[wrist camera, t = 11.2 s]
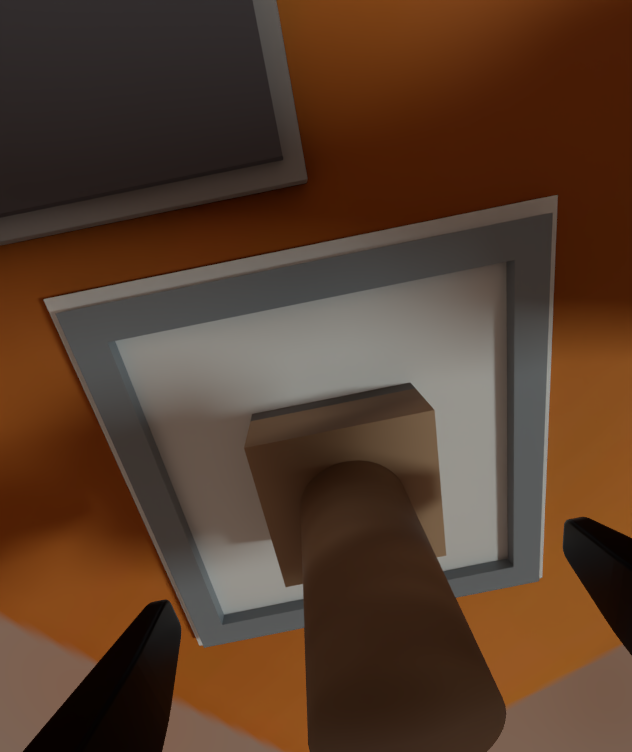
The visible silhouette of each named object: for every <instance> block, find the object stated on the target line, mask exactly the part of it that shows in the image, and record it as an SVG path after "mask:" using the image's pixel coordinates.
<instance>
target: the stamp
mask: <svg viewBox="0 0 632 752" xmlns="http://www.w3.org/2000/svg"><path fill="white" fill-rule="evenodd" d="M244 450H245V453H246V457H247V460H248V463H249V467H250V470H251V473H252V477H253V480H254V483H255V487H256V490H257V493H258V497H259V500H260V503H261V507H262V510H263V513H264V517H265V520H266V523H267V527H268V530H269V533H270V537H271V540H272V543H273V547H274V550H275V553H276V557H277V560H278V564H279V567H280V570H281V574H282V577H283V580H284V584H285V587H290V586H295V585H300V584H303V602H304V632H305V662H306V691H307V721H308V745H309V750H310V752H487V751H488V750H489V749H490V748H491V747H492V746H493V744H494V743H495V742H496V740H497V739H498V737H499V736H500V734H501V732H502V730H503V727H504V724H505V718H506V709H505V704H504V701H503V698H502V696H501V694H500V692H499V690H498V687H497V685H496V683H495V681H494V679H493V677H492V675H491V672H490V670H489V668H488V666H487V664H486V662H485V660H484V657H483V655H482V653H481V651H480V649H479V647H478V645H477V643H476V640H475V638H474V636H473V634H472V632H471V630H470V628H469V625H468V623H467V621H466V619H465V617H464V615H463V613H462V610H461V608H460V606H459V604H458V602H457V600H456V598H455V595H454V593H453V591H452V589H451V587H450V585H449V583H448V581H447V578H446V576H445V574H444V572H443V570H442V568H441V566H440V563H439V561H438V559H437V557H442V556H446V545H445V533H444V520H443V508H442V496H441V483H440V471H439V459H438V446H437V434H436V421H435V410H434V409H433V408H432V406H431V405H430V404H429V403H428V402H427V401H426V400H425V399H424V397H423V396H422V395H421V394H420V393H419V392H418V391H417V389H416V388H415V387H414V386H413V385H412V384H411V383H405V384H400V385H395V386H390V387H385V388H380V389H375V390H370V391H365V392H360V393H355V394H350V395H345V396H340V397H335V398H330V399H325V400H320V401H315V402H310V403H305V404H300V405H295V406H290V407H285V408H280V409H275V410H270V411H265V412H260V413H255V414H252V416H251V420H250V425H249V429H248V433H247V437H246V442H245V446H244Z"/></svg>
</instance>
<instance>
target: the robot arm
mask: <svg viewBox="0 0 632 752" xmlns="http://www.w3.org/2000/svg"><path fill="white" fill-rule="evenodd" d="M563 551H564V554H565V557H566V559H567V560H568V562H569V563H570V565H571V567H572V568H573V570H574V571H575V573H576V574H577V576H578V577H579V579H580V581H581V582H582V584H583V585H584V587H585V588H586V590H587V591H588V593H589V594H590V596H591V598H592V599H593V601H594V602H595V604H596V605H597V607H598V608H599V610H600V612H601V613H602V615H603V616H604V618H605V619H606V621H607V622H608V624H609V625H610V627H611V628H612V630H613V631H614V633H615V634H616V635H617V637H618V638H619V639H620V641H621V642H622V643H623V645H624V646H625V647H626V649H627V650H628V651H629V652H630V654H631V655H632V538H630V537H628V536H626V535H624V534H622V533H620V532H618V531H615V530H613V529H611V528H609V527H607V526H605V525H603V524H600V523H598V522H596V521H594V520H592V519H590V518H587V517H579V518H574V519H569V520H566V522H565V523H564V535H563ZM180 639H181V625H180V622H179V620H178V618H177V616H176V613H175V611H174V609H173V607H172V605H171V603H170V601H168V600H160V601H155V602H151V603H149V604H148V605H147V606H146V607H145V608H144V609H143V610H142V611H141V613H140V614H139V615H138V616H137V617H136V619H135V620H134V621H133V622H132V623H131V624H130V626H129V627H128V628H127V629H126V630H125V632H124V633H123V634H122V635H121V636H120V637H119V639H118V640H117V641H116V642H115V643H114V644H113V646H112V647H111V648H110V649H109V650H108V652H107V653H106V654H105V655H104V656H103V657H102V659H101V660H100V661H99V662H98V663H97V665H96V666H95V667H94V668H93V669H92V670H91V672H90V673H89V674H88V675H87V676H86V677H85V679H84V680H83V681H82V682H81V683H80V685H79V686H78V687H77V688H76V689H75V690H74V692H73V693H72V694H71V695H70V696H69V698H68V699H67V700H66V701H65V702H64V703H63V705H62V706H61V707H60V708H59V709H58V710H57V712H56V713H55V714H54V715H53V716H52V718H51V719H50V720H49V721H48V722H47V723H46V725H45V726H44V727H43V728H42V729H41V731H40V732H39V733H38V734H37V735H36V736H35V738H34V739H33V740H32V741H31V742H30V743H29V745H28V746H27V747H26V748H25V749H24V751H23V752H162V750H163V745H164V741H165V736H166V731H167V727H168V722H169V716H170V710H171V704H172V697H173V690H174V682H175V675H176V668H177V661H178V654H179V647H180Z"/></svg>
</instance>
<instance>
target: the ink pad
mask: <svg viewBox="0 0 632 752" xmlns="http://www.w3.org/2000/svg"><path fill="white" fill-rule="evenodd" d="M307 179H308V178H307V173H306V167H305V161H304V156H303V150H302V144H301V138H300V133H299V127H298V121H297V116H296V110H295V104H294V99H293V93H292V87H291V82H290V76H289V70H288V65H287V59H286V53H285V47H284V42H283V36H282V30H281V25H280V19H279V13H278V8H277V2H276V0H0V246H1V245H6V244H10V243H15V242H20V241H25V240H30V239H35V238H40V237H45V236H50V235H55V234H59V233H64V232H69V231H74V230H79V229H84V228H89V227H94V226H99V225H104V224H108V223H113V222H118V221H123V220H128V219H133V218H138V217H143V216H148V215H153V214H158V213H162V212H167V211H172V210H177V209H182V208H187V207H192V206H197V205H202V204H207V203H211V202H216V201H221V200H226V199H231V198H236V197H241V196H246V195H251V194H256V193H261V192H265V191H270V190H275V189H280V188H285V187H290V186H295V185H300V184H305V183H307Z"/></svg>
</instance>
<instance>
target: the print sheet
mask: <svg viewBox="0 0 632 752" xmlns="http://www.w3.org/2000/svg"><path fill="white" fill-rule="evenodd" d="M557 204H558V195H554V196H549V197H544V198H539V199H534V200H529V201H524V202H519V203H514V204H509V205H505V206H500V207H495V208H490V209H485V210H480V211H475V212H470V213H465V214H460V215H455V216H450V217H445V218H441V219H436V220H431V221H426V222H421V223H416V224H411V225H406V226H401V227H396V228H391V229H386V230H381V231H377V232H372V233H367V234H362V235H357V236H352V237H347V238H342V239H337V240H332V241H327V242H322V243H317V244H313V245H308V246H303V247H298V248H293V249H288V250H283V251H278V252H273V253H268V254H263V255H258V256H253V257H249V258H244V259H239V260H234V261H229V262H224V263H219V264H214V265H209V266H204V267H199V268H194V269H189V270H185V271H180V272H175V273H170V274H165V275H160V276H155V277H150V278H145V279H140V280H135V281H130V282H126V283H121V284H116V285H111V286H106V287H101V288H96V289H91V290H86V291H81V292H76V293H71V294H66V295H62V296H57V297H52V298H47V299H43V300H44V302H45V304H46V307H47V309H48V311H49V313H50V315H51V318H52V320H53V322H54V324H55V327H56V329H57V331H58V333H59V335H60V338H61V340H62V342H63V344H64V347H65V349H66V351H67V353H68V355H69V358H70V360H71V362H72V364H73V366H74V369H75V371H76V373H77V375H78V378H79V380H80V382H81V384H82V386H83V389H84V391H85V393H86V395H87V397H88V400H89V402H90V404H91V406H92V409H93V411H94V413H95V415H96V417H97V420H98V422H99V424H100V426H101V428H102V431H103V433H104V435H105V437H106V440H107V442H108V444H109V446H110V448H111V451H112V453H113V455H114V457H115V459H116V462H117V464H118V466H119V468H120V471H121V473H122V475H123V477H124V479H125V482H126V484H127V486H128V488H129V490H130V493H131V495H132V497H133V499H134V502H135V504H136V506H137V508H138V510H139V513H140V515H141V517H142V519H143V521H144V524H145V526H146V528H147V530H148V533H149V535H150V537H151V539H152V541H153V544H154V546H155V548H156V550H157V552H158V555H159V557H160V559H161V561H162V564H163V566H164V568H165V570H166V572H167V575H168V577H169V579H170V581H171V583H172V586H173V588H174V590H175V592H176V595H177V597H178V599H179V601H180V603H181V606H182V608H183V610H184V612H185V615H186V617H187V619H188V621H189V623H190V626H191V628H192V630H193V632H194V634H195V637H196V639H197V641H198V643H199V646H200V645H203V646H204V648H205V647H210V646H215V645H220V644H225V643H230V642H235V641H240V640H245V639H250V638H255V637H260V636H265V635H270V634H275V633H280V632H285V631H290V630H295V629H300V628H304V602H303V584H300V585H295V586H290V587H285V584H284V580H283V577H282V574H281V570H280V567H279V564H278V560H277V557H276V553H275V550H274V547H273V543H272V540H271V537H270V533H269V530H268V527H267V523H266V520H265V517H264V513H263V510H262V507H261V503H260V500H259V497H258V493H257V490H256V487H255V483H254V480H253V477H252V473H251V470H250V467H249V463H248V460H247V457H246V453H245V450H244V446H245V442H246V437H247V433H248V429H249V425H250V420H251V416H252V414H255V413H260V412H265V411H270V410H275V409H280V408H285V407H290V406H295V405H300V404H305V403H310V402H315V401H320V400H325V399H330V398H335V397H340V396H345V395H350V394H355V393H360V392H365V391H370V390H375V389H380V388H385V387H390V386H395V385H400V384H405V383H411V384H412V385H413V386H414V387H415V388H416V389H417V391H418V392H419V393H420V394H421V395H422V396H423V397H424V399H425V400H426V401H427V402H428V403H429V404H430V405H431V406H432V408H433V409H434V410H435V421H436V434H437V446H438V459H439V471H440V483H441V496H442V508H443V520H444V533H445V545H446V556H442V557H437V559H438V561H439V563H440V566H441V568H442V570H443V572H444V574H445V576H446V578H447V581H448V583H449V585H450V587H451V589H452V591H453V593H454V595H455V598H456V597H461V596H466V595H472V594H477V593H482V592H487V591H492V590H497V589H502V588H507V587H512V586H517V585H522V584H527V583H532V582H537V581H539V578H542V568H543V544H544V520H545V495H546V471H547V447H548V423H549V398H550V374H551V350H552V326H553V301H554V277H555V253H556V229H557Z"/></svg>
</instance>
